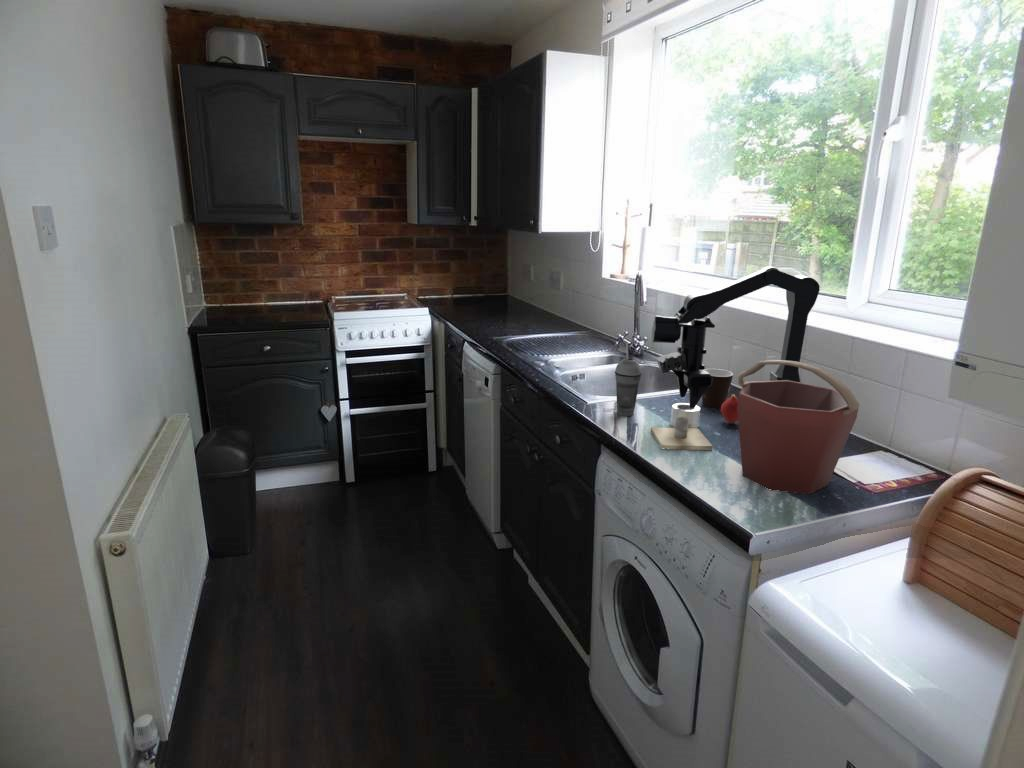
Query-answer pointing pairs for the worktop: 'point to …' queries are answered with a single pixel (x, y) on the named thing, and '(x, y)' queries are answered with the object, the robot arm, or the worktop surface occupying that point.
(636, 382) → the beverage cup
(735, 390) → the worktop surface
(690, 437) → the post board
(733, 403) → the onion
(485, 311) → the worktop surface
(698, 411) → the steel ring
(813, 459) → the bucket
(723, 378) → the coffee mug
